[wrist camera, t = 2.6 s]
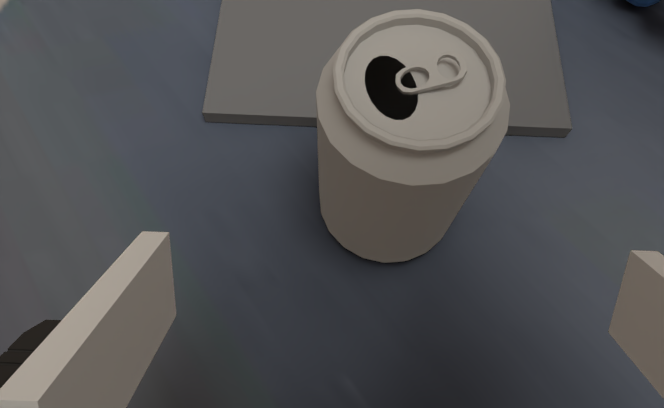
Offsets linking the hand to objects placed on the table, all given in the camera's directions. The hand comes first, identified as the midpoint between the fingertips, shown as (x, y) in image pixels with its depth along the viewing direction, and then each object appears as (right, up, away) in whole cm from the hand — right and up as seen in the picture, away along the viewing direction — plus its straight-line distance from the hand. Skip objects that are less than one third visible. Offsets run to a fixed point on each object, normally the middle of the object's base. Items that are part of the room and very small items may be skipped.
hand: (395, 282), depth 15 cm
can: (+1, +2, +15) cm, 15 cm away
